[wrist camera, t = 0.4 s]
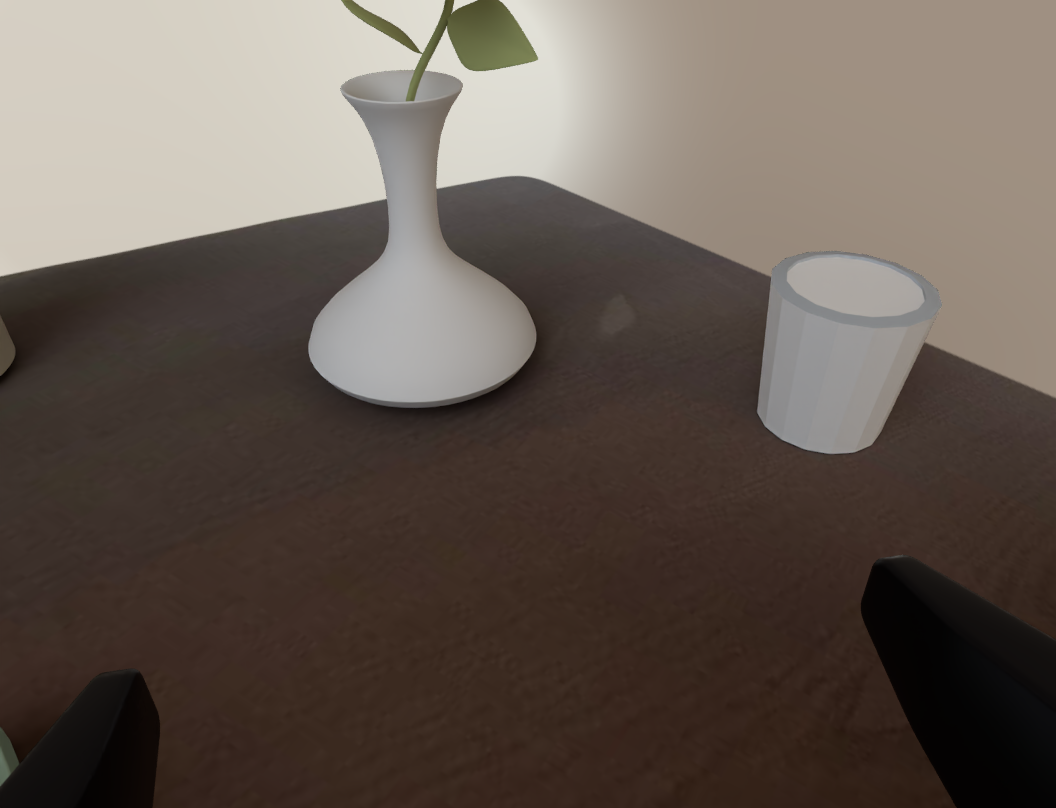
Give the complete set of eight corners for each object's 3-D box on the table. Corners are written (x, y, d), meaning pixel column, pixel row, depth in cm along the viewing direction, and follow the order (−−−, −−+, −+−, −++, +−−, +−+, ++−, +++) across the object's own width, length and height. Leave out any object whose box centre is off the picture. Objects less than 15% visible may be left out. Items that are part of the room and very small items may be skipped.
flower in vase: (269, 365, 40) (121, -274, 25) (435, 288, 47) (395, -253, 32) (439, 482, 33) (371, -311, 18) (606, 372, 40) (655, -273, 25)
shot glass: (798, 359, 41) (829, 235, 37) (923, 422, 37) (974, 288, 33) (713, 409, 37) (737, 278, 33) (840, 485, 33) (886, 344, 29)
